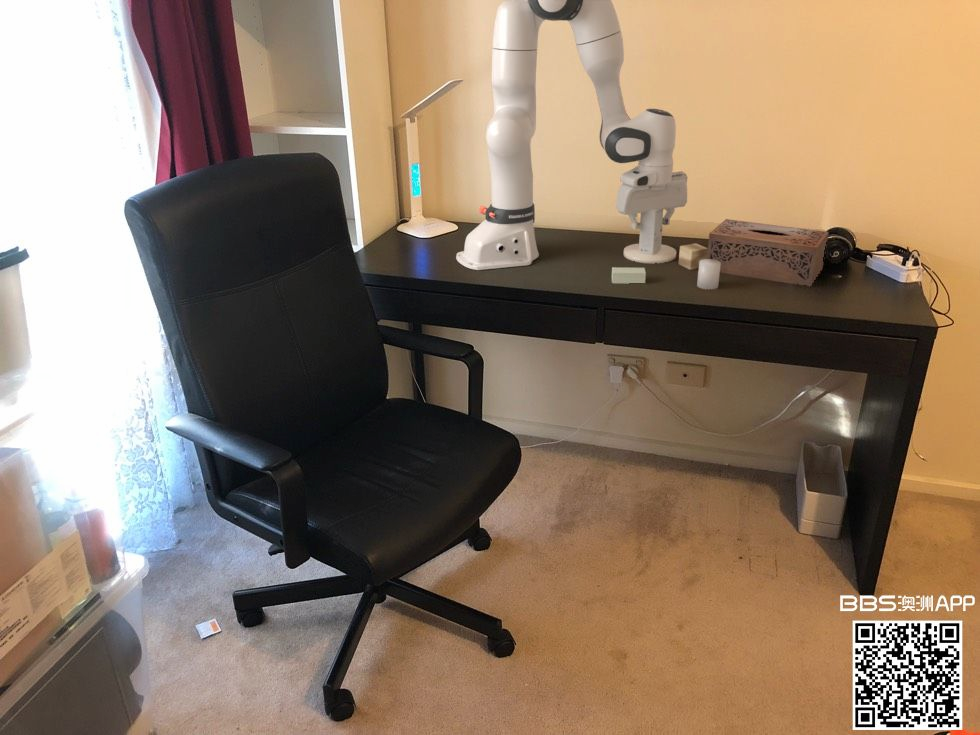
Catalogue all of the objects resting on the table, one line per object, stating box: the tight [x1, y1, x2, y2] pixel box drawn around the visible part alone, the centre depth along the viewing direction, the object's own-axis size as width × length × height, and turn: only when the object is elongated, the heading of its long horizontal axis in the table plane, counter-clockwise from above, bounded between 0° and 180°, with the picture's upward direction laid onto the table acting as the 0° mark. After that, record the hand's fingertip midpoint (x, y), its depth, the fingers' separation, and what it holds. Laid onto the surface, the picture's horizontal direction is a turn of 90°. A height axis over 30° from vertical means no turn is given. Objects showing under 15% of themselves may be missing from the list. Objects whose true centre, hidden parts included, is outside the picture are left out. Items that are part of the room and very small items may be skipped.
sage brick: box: [611, 266, 647, 284], centre depth 199 cm, size 8×4×3 cm, turn 85°
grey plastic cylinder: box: [696, 259, 721, 291], centre depth 194 cm, size 5×5×6 cm
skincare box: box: [638, 208, 664, 255], centre depth 214 cm, size 6×4×12 cm
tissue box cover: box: [707, 218, 829, 287], centre depth 203 cm, size 26×14×10 cm, turn 59°
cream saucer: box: [623, 243, 677, 265], centre depth 217 cm, size 14×14×1 cm
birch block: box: [678, 243, 708, 270], centre depth 208 cm, size 5×5×5 cm
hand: (650, 226), depth 213 cm, fingers open, 8 cm apart
